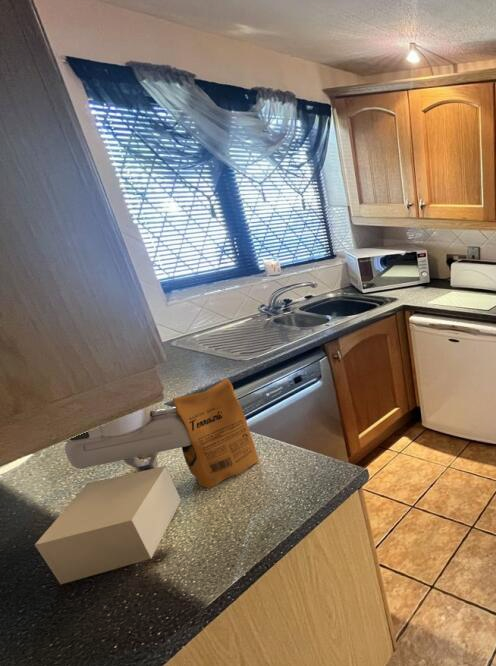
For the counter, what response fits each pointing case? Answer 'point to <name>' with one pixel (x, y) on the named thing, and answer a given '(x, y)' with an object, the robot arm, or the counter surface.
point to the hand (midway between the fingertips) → (148, 469)
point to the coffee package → (216, 434)
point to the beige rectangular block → (110, 525)
